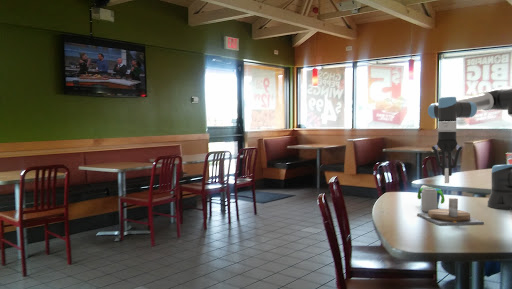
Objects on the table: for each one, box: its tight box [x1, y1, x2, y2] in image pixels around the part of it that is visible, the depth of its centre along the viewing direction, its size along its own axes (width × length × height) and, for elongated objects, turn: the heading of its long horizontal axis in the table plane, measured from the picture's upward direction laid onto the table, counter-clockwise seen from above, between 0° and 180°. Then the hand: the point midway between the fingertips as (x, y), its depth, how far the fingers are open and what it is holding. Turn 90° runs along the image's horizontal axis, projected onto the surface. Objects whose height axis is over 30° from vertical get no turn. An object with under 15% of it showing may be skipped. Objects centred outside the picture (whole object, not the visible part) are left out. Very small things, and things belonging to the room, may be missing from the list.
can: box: [420, 187, 438, 213], centre depth 218 cm, size 8×8×12 cm
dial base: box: [416, 212, 485, 226], centre depth 199 cm, size 21×21×1 cm
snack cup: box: [417, 186, 446, 208], centre depth 228 cm, size 16×10×10 cm
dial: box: [427, 197, 471, 221], centre depth 198 cm, size 19×18×10 cm
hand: (446, 182), depth 192 cm, fingers closed
